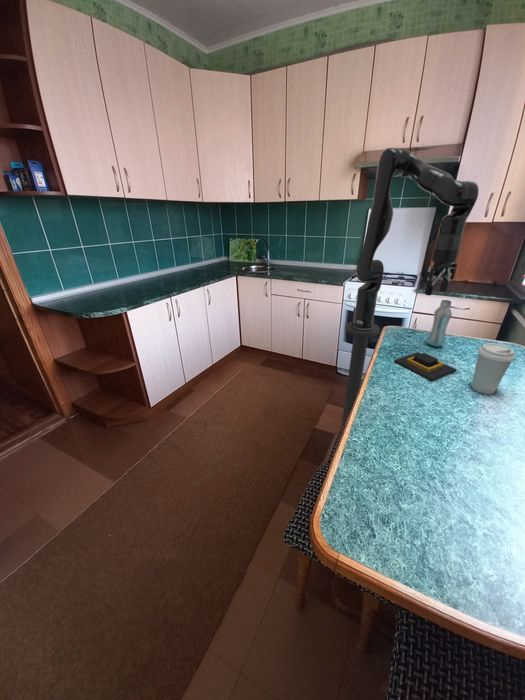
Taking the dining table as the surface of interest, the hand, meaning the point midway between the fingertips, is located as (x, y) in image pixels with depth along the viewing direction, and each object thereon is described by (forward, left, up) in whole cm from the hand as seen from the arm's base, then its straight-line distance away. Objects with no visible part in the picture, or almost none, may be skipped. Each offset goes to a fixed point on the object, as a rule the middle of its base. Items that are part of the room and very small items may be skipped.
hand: (435, 293), depth 108 cm
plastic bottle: (-3, +14, -26) cm, 30 cm away
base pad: (+7, -7, -26) cm, 28 cm away
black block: (+7, -7, -25) cm, 27 cm away
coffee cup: (+26, -3, -26) cm, 37 cm away
